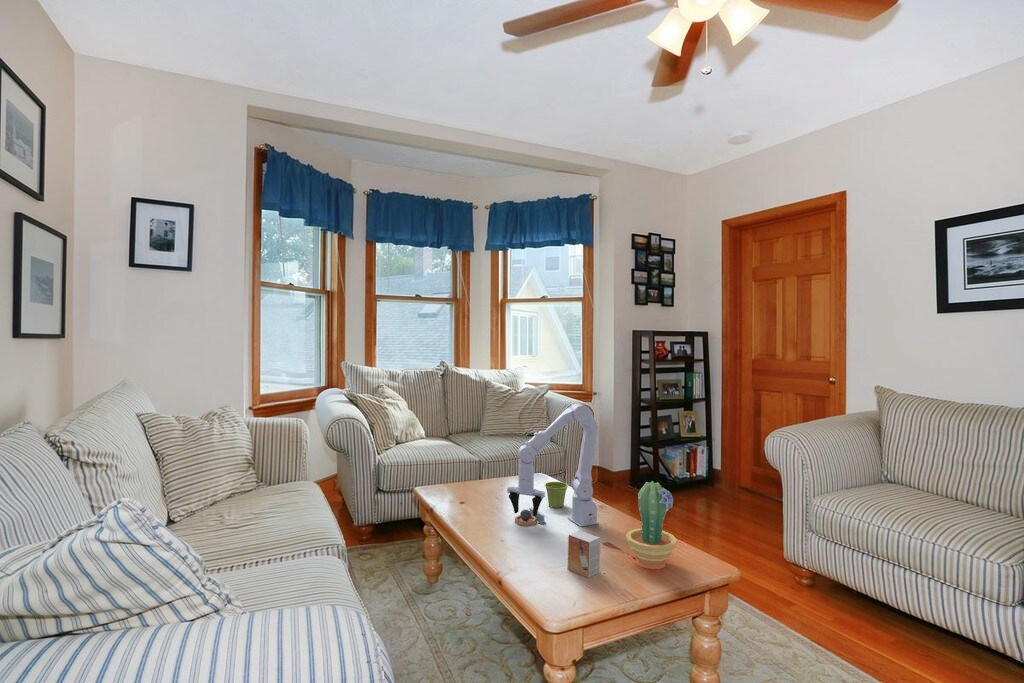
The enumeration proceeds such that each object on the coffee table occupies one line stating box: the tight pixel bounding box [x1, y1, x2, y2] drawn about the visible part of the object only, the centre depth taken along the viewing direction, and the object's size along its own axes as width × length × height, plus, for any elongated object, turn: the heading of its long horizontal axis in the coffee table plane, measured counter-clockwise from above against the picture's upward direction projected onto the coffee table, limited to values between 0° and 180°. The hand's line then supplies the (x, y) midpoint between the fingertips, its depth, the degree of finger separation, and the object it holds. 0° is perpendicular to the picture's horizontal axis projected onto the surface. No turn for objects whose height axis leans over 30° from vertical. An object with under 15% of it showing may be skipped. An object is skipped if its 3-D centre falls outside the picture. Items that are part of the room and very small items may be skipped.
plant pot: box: [544, 481, 569, 509], centre depth 218 cm, size 9×9×9 cm
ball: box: [520, 509, 531, 521], centre depth 198 cm, size 4×4×4 cm
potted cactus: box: [625, 480, 678, 570], centre depth 164 cm, size 15×15×25 cm
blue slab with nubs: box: [528, 507, 547, 525], centre depth 201 cm, size 10×2×3 cm, turn 26°
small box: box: [567, 530, 601, 578], centre depth 158 cm, size 8×6×10 cm
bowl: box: [514, 515, 537, 527], centre depth 199 cm, size 8×8×1 cm
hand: (525, 514), depth 198 cm, fingers open, 7 cm apart
